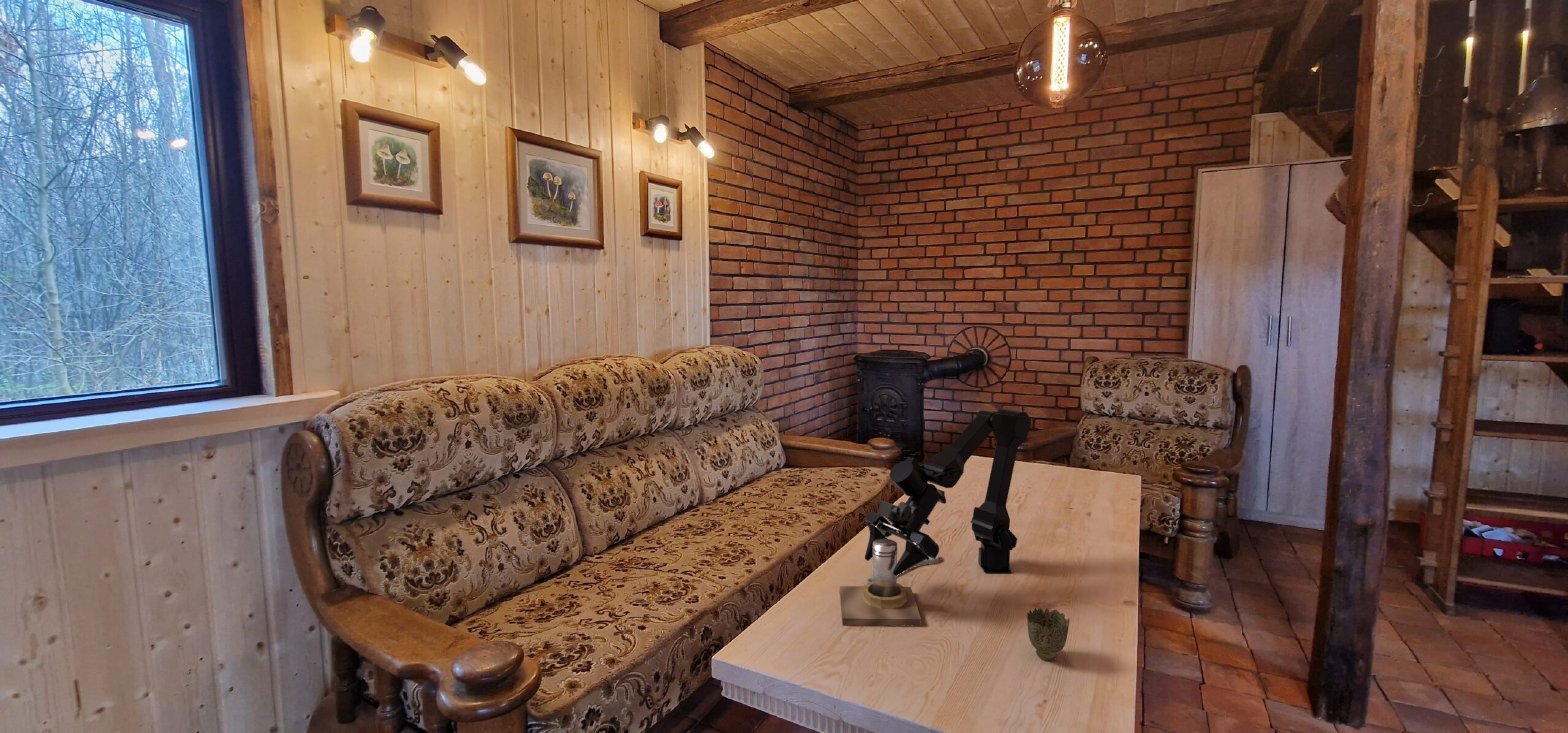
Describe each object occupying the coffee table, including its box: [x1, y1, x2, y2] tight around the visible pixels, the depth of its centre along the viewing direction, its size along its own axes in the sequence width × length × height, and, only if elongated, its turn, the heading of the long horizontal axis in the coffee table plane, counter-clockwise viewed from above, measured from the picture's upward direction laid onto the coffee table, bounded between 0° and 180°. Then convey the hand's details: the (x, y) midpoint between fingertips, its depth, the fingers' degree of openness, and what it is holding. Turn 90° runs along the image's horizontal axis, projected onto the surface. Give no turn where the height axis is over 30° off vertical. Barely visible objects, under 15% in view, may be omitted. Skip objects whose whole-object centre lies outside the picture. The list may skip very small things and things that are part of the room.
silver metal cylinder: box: [872, 538, 898, 598], centre depth 146 cm, size 5×5×12 cm
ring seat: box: [839, 582, 922, 627], centre depth 146 cm, size 16×15×4 cm
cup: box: [1026, 607, 1071, 662], centre depth 126 cm, size 8×7×8 cm
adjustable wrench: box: [866, 553, 940, 584], centre depth 166 cm, size 25×6×2 cm, turn 128°
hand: (879, 566), depth 145 cm, fingers open, 9 cm apart
